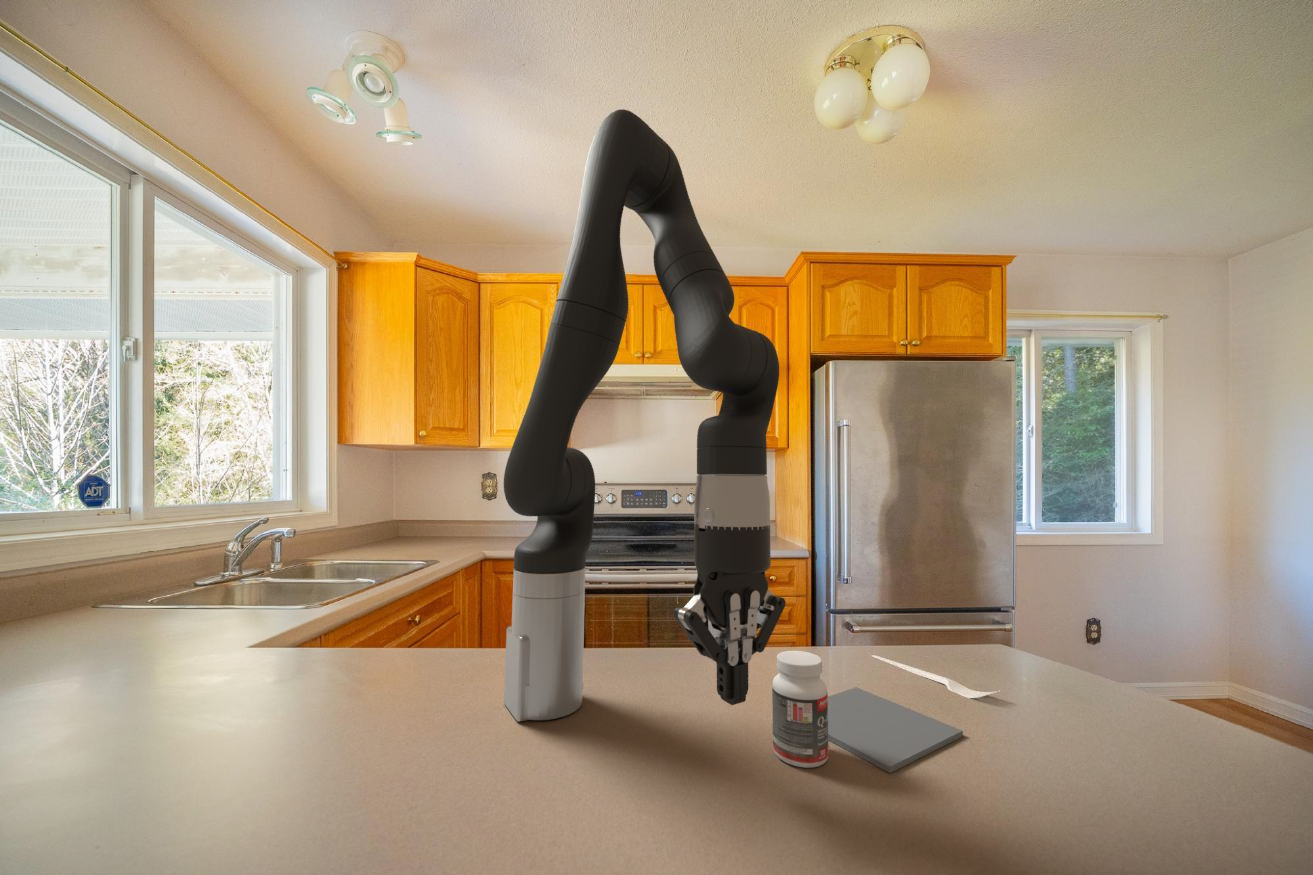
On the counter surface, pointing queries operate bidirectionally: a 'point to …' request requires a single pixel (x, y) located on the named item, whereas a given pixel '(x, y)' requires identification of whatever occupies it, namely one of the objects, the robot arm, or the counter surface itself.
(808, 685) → the pill bottle
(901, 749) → the mat
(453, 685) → the counter surface
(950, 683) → the fork
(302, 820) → the counter surface
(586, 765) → the counter surface
